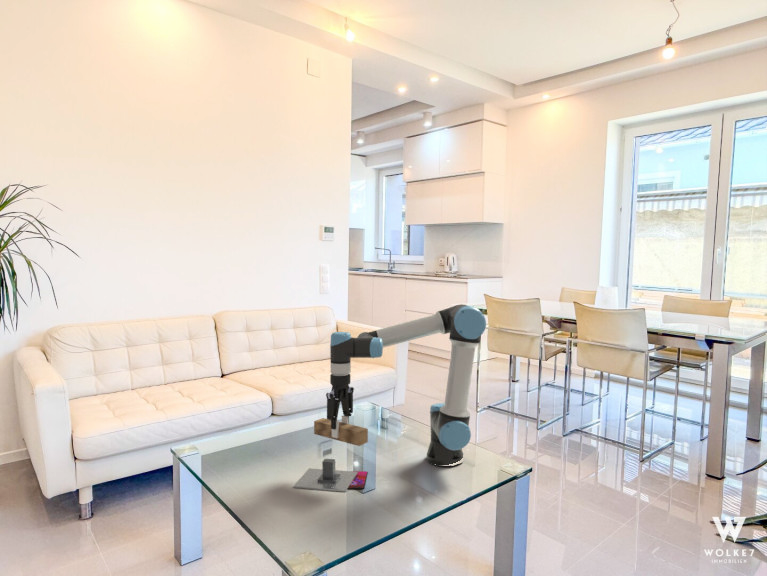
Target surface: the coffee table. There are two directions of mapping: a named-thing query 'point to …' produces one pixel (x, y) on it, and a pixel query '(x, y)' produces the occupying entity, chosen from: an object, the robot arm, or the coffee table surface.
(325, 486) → the stand
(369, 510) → the coffee table surface
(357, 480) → the smartphone
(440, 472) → the coffee table surface
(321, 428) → the walnut bar
